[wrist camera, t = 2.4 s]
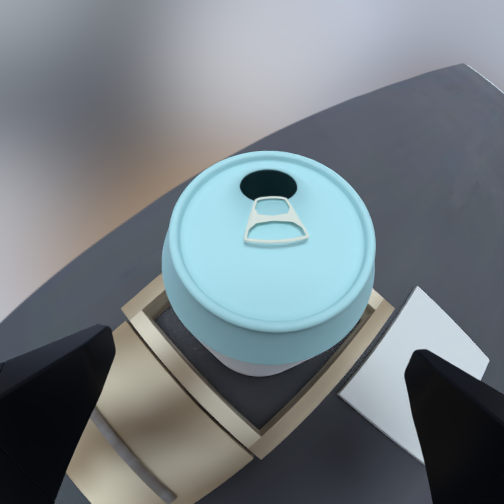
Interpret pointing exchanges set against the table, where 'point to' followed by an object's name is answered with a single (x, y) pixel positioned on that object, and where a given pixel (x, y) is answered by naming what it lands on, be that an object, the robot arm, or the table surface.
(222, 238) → the can
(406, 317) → the mat
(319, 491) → the table surface
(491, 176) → the table surface
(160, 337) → the beige slotted open frame
